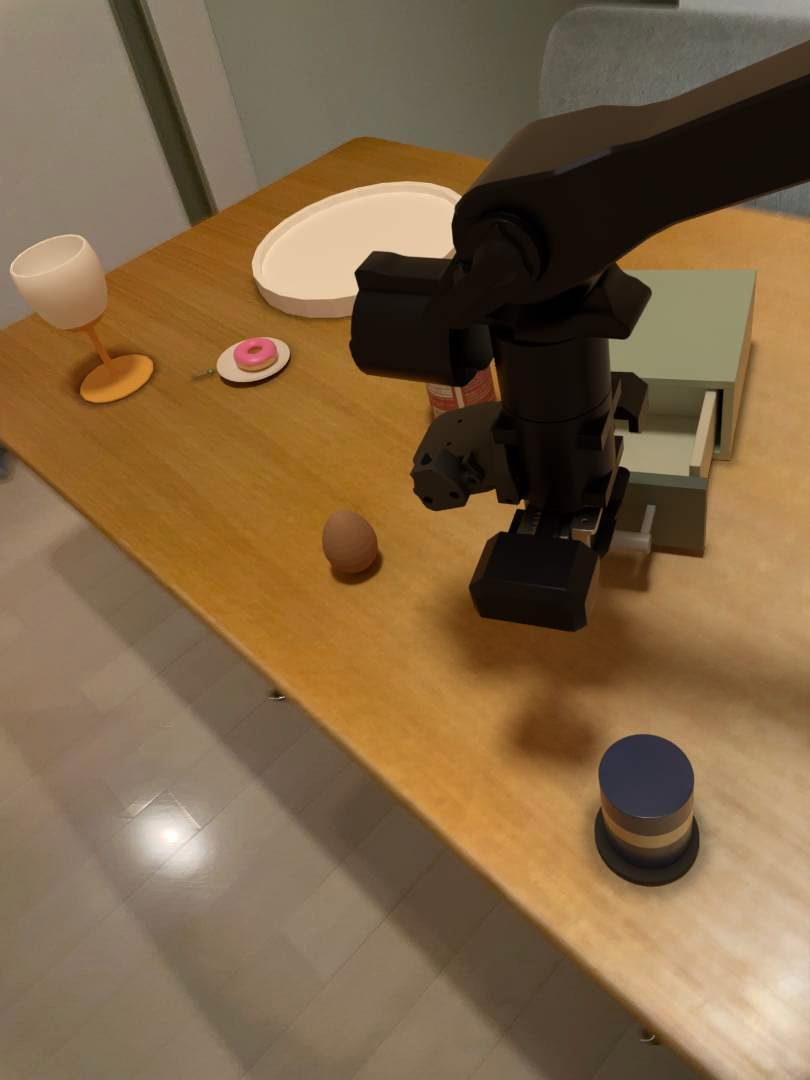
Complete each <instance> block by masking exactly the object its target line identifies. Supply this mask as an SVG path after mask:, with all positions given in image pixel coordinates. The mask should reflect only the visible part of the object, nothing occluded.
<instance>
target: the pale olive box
mask: <svg viewBox="0 0 810 1080" xmlns="http://www.w3.org/2000/svg"><path fill="white" fill-rule="evenodd" d="M621 270H622V271H624V272H625V273H626V274H628V275H630V276H633V277H636V278H638V279H639V280H640V281H642V282H643V283H644V284H646V285H647V286H649V287H650V288H651V290H652V296H651V298H650V300H649V302H648V304H647V306H646V307H645V309H644V311H643V313H642V315H641V317H640V319H639V320H638V322H637V324H636V326H635V328H634V330H633V332H632V333H631V335H630V337H629V338H627V339H625V340H618V339H609V353H610V369H611V371H617V372H633V373H635V374H636V375H637V376H638V377H640V378H641V379H642V380H643V381H644V382H646V383H647V384H648V386H667V387H688V388H710V389H721V399H720V417H719V424H718V429H717V434H716V439H715V444H714V448H713V453H712V458H711V460H717V461H718V460H719V461H731V456H732V451H733V445H734V439H735V434H736V429H737V424H738V418H739V413H740V408H741V402H742V396H743V390H744V384H745V379H746V374H747V369H748V364H749V358H750V352H751V347H752V346H751V345H752V336H753V335H752V333H753V325H754V324H753V322H754V311H755V310H754V309H755V297H756V287H757V286H756V284H757V275H758V269H756V268H751V269H750V268H749V269H748V268H747V269H742V268H741V269H740V268H737V269H736V268H735V269H732V268H729V269H727V268H726V269H724V268H723V269H720V268H719V269H718V268H717V269H716V268H715V269H712V268H711V269H621Z"/></svg>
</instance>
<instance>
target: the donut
mask: <svg viewBox="0 0 810 1080" xmlns="http://www.w3.org/2000/svg"><path fill="white" fill-rule="evenodd" d="M290 356H291V350H290V348H289V346H288V345H287V343H285V342H284V341H283V340H280V339H277V338H273V337H268V336H267V337H265V336H264V337H263V336H261V337H253V338H248V339H245V340H241V341H240V342H237V343H234V344H233V345H231V346H229V347H228V348H227V349H225V350H224V351H223V352H222V353H221V355H220V356H219V358H218V359H217V362H216V370H217V372H218V374H219V375H220V377H222V378H224V379H225V380H228V381H231V382H236V383H250V382H255V381H260V380H263V379H265V378H269V377H270V376H273V375H274V374H277V373H278V372H279V371H280V370H281V369H283V368H284V366H286V364H287V363H288V361H289V359H290ZM209 373H210V374H212V373H213V370H212V369H209ZM204 375H207V373H206V372H204V373H203V372H201V373H199V374H194V377H197V376H198V377H201V376H204Z"/></svg>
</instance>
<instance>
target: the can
mask: <svg viewBox="0 0 810 1080" xmlns="http://www.w3.org/2000/svg"><path fill="white" fill-rule="evenodd" d="M597 770H598V772H597V773H598V774H597V776H598V784H599V797H600V804H601V805H600V807H601V806H602V812H603V819H604V828H605V834H606V837H607V840H608V842H609V844H610V846H611V847H612V848H613V850H614V851H615V852H616V853H617V854H618V855H619V856H620V857H621V858H622V859H624V860H625V861H627V862H629V863H631V864H633V865H635V866H638V867H643V868H661V867H665V866H668V865H670V864H672V863H674V862H676V861H677V860H678V859H680V858H681V857H682V856H683V854H684V853H685V852H686V850H687V849H688V847H689V844H690V841H691V837H692V819H693V815H694V803H695V773H694V768H693V765H692V762H691V761H690V760H689V757H688V756H687V754H686V753H685V752H684V751H683V750H682V749H681V747H679V746H677V744H676V743H674V742H672V741H671V740H668V739H667V738H665V737H662V736H660V735H655V734H650V733H637V734H631V735H627V736H624V737H622V738H620V739H618V740H616V741H615V742H613V743H612V744H611V745H610V746H609V747H608V748H607V749H606V750H605V752H604V753H603V755H602V757H601V759H600V761H599V765H598V769H597Z"/></svg>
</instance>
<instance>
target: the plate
mask: <svg viewBox="0 0 810 1080" xmlns="http://www.w3.org/2000/svg"><path fill="white" fill-rule="evenodd" d="M462 196H463V195H460V194H459V193H457V192H456V191H454V190H453V189H451V188H449V187H446V186H442V185H439V184H435V183H433V182H432V183H431V182H422V181H421V182H420V181H408V180H407V181H391V182H380V183H376V184H370V185H364V186H359V187H355V188H351V189H349V190H346V191H342V192H339V193H336V194H332V195H329V196H327V197H324V198H323V199H321V200H318V201H315V202H314V203H311V204H308V205H307V206H305V207H303V208H301V209H300V210H298V211H297V212H295V213H292V214H291V215H290V216H288V217H286V218H284V219H283V220H282V221H281V222H280V223H279V224H278V225H276V226H275V227H274V228H273V229H272V230H270V231H269V232H268V233H267V234H266V235H265V237H264V238H263V239H262V240H261V242H260V243H259V244H258V246H257V247H256V249H255V252H254V255H253V258H252V260H251V267H252V273H253V274H252V275H253V278H254V281H255V283H256V287H257V288H258V291H259V293H260V295H261V296H262V297H263V299H264V300H265V301H266V302H267V304H268V305H269V306H271V307H273V308H275V309H277V310H279V311H281V312H283V313H284V314H288V315H293V316H298V317H303V318H308V319H339V318H345V317H352V311H353V305H354V302H355V299H356V296H357V293H358V290H359V288H358V285H357V282H356V278H355V275H354V272H355V271H356V269H357V268H358V267H359V266H360V265H361V264H362V263H363V261H364V260H365V259H366V258H367V257H368V256H369V255H370V254H371V253H372V251H386V252H393V253H397V254H400V255H403V256H412V257H429V258H445V259H452V258H453V257H454V255H455V253H456V250H455V247H454V245H453V239H452V228H451V224H452V219H453V215H454V211H455V210H454V208H455V205H456V204H457V202H458V201H459V200H460V199H461V197H462Z"/></svg>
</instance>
